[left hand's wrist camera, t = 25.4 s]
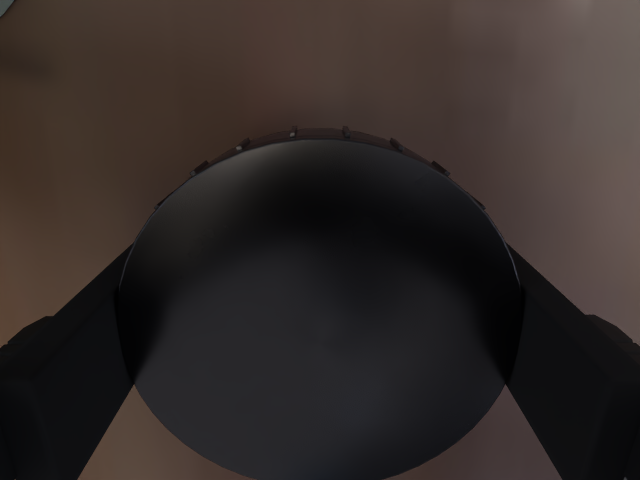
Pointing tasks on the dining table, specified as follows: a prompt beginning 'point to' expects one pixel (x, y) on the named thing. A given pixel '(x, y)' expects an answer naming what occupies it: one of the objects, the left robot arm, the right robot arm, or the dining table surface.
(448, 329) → the lid
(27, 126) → the dining table surface
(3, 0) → the jar
